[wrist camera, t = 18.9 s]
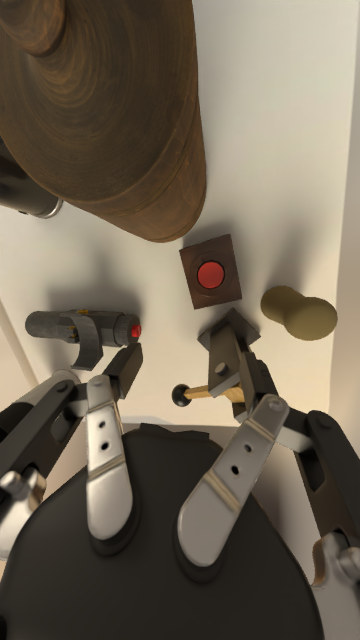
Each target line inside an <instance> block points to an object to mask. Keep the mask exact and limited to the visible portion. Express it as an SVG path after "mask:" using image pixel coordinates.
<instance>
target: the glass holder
mask: <svg viewBox="0 0 360 640" xmlns="http://www.w3.org/2000/svg"><path fill="white" fill-rule="evenodd" d="M66 379H71V380H73V381H74V383H75V385H76V384H81V383H80V381H79V379H78V378H77V377H76V376H75V375H74V374H73V373H71V372H69V371H66V370H58V371H56V372H55V373H54V374H53V375H52V377H50V378H49V379H47V380H46V381H44V382H43V383H41V384H40V385H38V386H37V387H35V388H34V389H32V390H31V391H30V392H28V393H27V394H25V395H24V396H22V397H21V398H19V399H18V400H16V401H15V402H13V403H12V404H11V405H10V406H9V407H8V408H6V409H5V410H3V411H2V412H0V443H1V442H2V441H3V440H4V439H5V438H6V437H7V436H8V435H9V433H10V432H11V431H12V430H13V429H14V428H15V427H16V426H17V425H18V424H19V423H20V421H21V420H22V419H23V418H24V417H25V416H26V415H27V414H28V413H29V412H30V411H31V410H32V408H33V407H34V406H35V405H36V404H37V403H38V402H39V401H40V400H41V399H42V398H43V396H44V395H45V394H46V393H47V392H48V391H49V390H50V389H51V388H52V387H53V386H54V385H55V384H56V383H58V382H60V381H62V380H66ZM52 425H53V424H52Z"/></svg>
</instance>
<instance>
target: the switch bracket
mask: <svg viewBox="0 0 360 640" xmlns="http://www.w3.org/2000/svg"><path fill="white" fill-rule="evenodd" d="M260 337H261V336H260V334H259V333H258V332H257V331H256V330H255V329H254V328H253V327H252V326H251V325H250V324H249V323H248V322H247V321H246V320H245V319H244V318H243V316H242V315H241V314H240V313H239V312H238V311H237V310H236V309H235V308H232V309H231V310H230V311H229V312H228V313H226V314H225V315H224V316H223V317H222V318H221V319H219V320H218V321H217V322H216V323H215V324H213V325H212V326H211V327H210V328H209V329H208V330H206V331H205V332H204V333H203V334H202V335H200V336H199V337H198V339H197V340H198V341H199V342H200V343H201V344H202V345H203V346H204V347H205V348H206V349H207V350H208V351H209V374H208V393H209V394H210V395H211V396H212V397H213V398H215V397H217V396H218V395H220V394H222V393H223V392H225V391H226V390H228V389H229V388H231V387H232V386H234V385H235V384H237V383H239V382H240V381H241V380H240V375H239V367H240V362H241V357H242V352H243V351H244V352H252V351H251V349H250V347H249V345H250V344H252V343H253V342H255V341H256V340H257V339H259V338H260ZM232 408H233V415H234V418H235V419H236V420H237V421H238V422H239V423H240V424H241V423H242V422H243V421H244V420H245V419H246V418H247V419H248V418H249V417H248V415H247V410H246V405H245V402H236V403H232Z"/></svg>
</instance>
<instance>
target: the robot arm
mask: <svg viewBox="0 0 360 640" xmlns="http://www.w3.org/2000/svg"><path fill="white" fill-rule="evenodd" d="M62 201H63V200H62V199H60V198H59V197H57V196H55V195H53V194H52V193H50V192H49V191H47V190H46V189H44V188H43V187H41V186H40V185H39V184H38V183H36V182H35V181H34V180H33V179H32V178H31V177H30V176H29V175H28V174H27V173H26V172H25V171H24V170H23V169H22V167H21V166H20V165H19V164H18V163H17V161H16V160H15V158H14V157H13V155H12V154H11V152H10V151H9V149H8V148H7V146H6V144H5V143H4V141H3V139H2V137H1V135H0V205H1V206H5V207H8V208H11V209H15V210H18V211H19V212H20V213H23V214H27V213H28V214H31V215H34V216H36V217H40V218H50V217H53V216H54V215H55V214H57V212H58V211H59V210H60V208H61V205H62ZM28 214H27V215H28ZM142 363H143V354H142V348H141V343H138V342H130V343H129V345H128V346H127V348H123V349H121V350H120V351H118V353H117V354H116V355H115V357H114V358H113V359H112V361H111V362H110V363H109V365H108V366H107V368H106V369H105V370H104V372H103V373H102V374H101V375H97V376H95V377H93V378H92V379H90V380H89V382H88V383H82V384H76V385H75V383H74V381H73V380H71V379H66V380H62V381H60V382H58V383H56V384H55V385H54V386H53V387H52V388H51V389H50V390H49V391H48V392H47V393H46V394H45V395H44V396H43V398H42V399H41V400H40V401H39V402H38V403H37V404H36V405H35V406H34V407H33V408H32V410H31V411H30V412H29V413H28V414H27V415H26V416H25V417H24V418H23V419H22V420H21V421H20V423H19V424H18V425H17V426H16V427H15V428H14V429H13V430H12V431H11V432H10V433H9V435H8V436H7V437H6V438H5V439H4V440H3V441H2V442H1V443H0V560H2V561H7V563H6V566H5V570H4V573H3V576H2V579H1V582H0V640H360V459H359V458H358V456H357V454H356V453H355V451H354V449H353V448H352V446H351V444H350V442H349V441H348V439H347V438H346V436H345V434H344V433H343V431H342V429H341V427H340V426H339V424H338V423H337V422H336V421H335V420H334V419H333V418H332V417H331V416H329V415H328V414H326V413H324V412H321V411H318V410H312V411H310V412H309V413H308V414H306V413H303V412H301V411H298V410H295V409H293V408H291V407H289V406H288V404H287V402H286V401H285V400H284V399H282V398H281V397H279V395H278V392H277V390H276V387H275V385H274V382H273V380H272V378H271V375H270V373H269V370H268V368H267V365H266V364H265V363H264V362H263V361H262V360H257V359H256V357H255V354H254V352H244V351H243V352H242V357H241V362H240V367H239V375H240V380H241V385H242V390H243V395H244V400H245V405H246V410H247V415H248V417H249V418H248V419H247V418H246V419H245V420H244V421H243V423H242V424H241V425H240V427H239V428H238V430H237V431H236V433H235V434H234V435H233V437H232V438H231V440H230V441H229V443H228V444H227V446H226V447H225V448H224V449H223V448H222V447H221V446H220V445H218V444H217V443H216V442H214V441H213V440H210V439H209V433H206V432H198V431H193V430H191V431H183V432H171V431H169V430H167V429H165V428H162V427H160V426H158V425H154V424H147V423H141V425H140V428H138V429H134V430H131V431H129V432H127V433H125V434H124V431H123V427H122V423H121V419H120V414H119V410H118V406H117V401H118V400H119V399H125V397H126V395H127V393H128V391H129V389H130V387H131V385H132V383H133V381H134V379H135V377H136V375H137V373H138V371H139V369H140V367H141V365H142ZM60 413H61V414H60ZM58 416H59V417H58ZM84 416H85V417H86V440H87V461H88V462H87V463H88V464H87V465H86V466H85V467H83V468H82V469H81V470H80V471H79V472H78V473H76V474H75V475H74V476H73V477H72V478H70V479H69V480H68V481H67V482H66V483H65V484H63V485H62V486H61V487H60V488H59V489H57V490H56V491H55V492H54V493H53V494H51V495H50V496H49V497H48V498H47V499H46V500H44V501H43V502H42V500H43V495H44V493H45V490H46V485H47V484H46V478H47V477H48V475H49V473H50V472H51V470H52V468H53V467H54V465H55V463H56V461H57V460H58V458H59V457H60V455H61V453H62V451H63V450H64V449H65V447H66V445H67V444H68V442H69V440H70V438H71V437H72V435H73V433H74V432H75V430H76V429H77V427H78V425H79V424H80V422H81V420H82V419H83V417H84ZM57 417H58V418H57ZM55 420H56V421H55ZM54 421H55V422H54ZM52 424H53V425H52ZM275 442H277V443H279V444H281V445H283V446H285V447H287V448H289V449H291V450H293V452H294V455H295V458H296V461H297V464H298V467H299V470H300V473H301V477H302V479H303V483H304V486H305V489H306V492H307V496H308V499H309V502H310V505H311V508H312V511H313V514H314V517H315V521H316V523H317V527H318V530H319V533H320V536H321V539H319V540H318V541H317V542H315V544H314V546H313V552H312V553H313V562H314V567H315V577H314V581H313V583H312V585H310V584H309V582H308V579H307V577H306V575H305V573H304V571H303V570H302V568H301V566H300V564H299V563H298V561H297V560H296V558H295V556H294V555H293V553H292V552H291V550H290V549H289V547H288V546H287V544H286V543H285V541H284V540H283V538H282V536H281V535H280V534H279V532H278V531H277V529H276V527H275V526H274V524H273V523H272V521H271V520H270V518H269V516H268V515H267V513H266V512H265V510H264V509H263V507H262V506H261V504H260V503H259V501H258V499H257V498H256V496H255V495H254V493H253V492H252V488H253V486H254V484H255V482H256V480H257V478H258V476H259V474H260V472H261V470H262V468H263V466H264V464H265V462H266V459H267V457H268V455H269V453H270V451H271V449H272V447H273V445H274V443H275Z"/></svg>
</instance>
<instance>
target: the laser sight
mask: <svg viewBox="0 0 360 640" xmlns="http://www.w3.org/2000/svg"><path fill="white" fill-rule="evenodd" d="M25 328H26V331H27V332H28V334H29V335H31V336H33V337H40V338H51V339H62V340H64V341H66V342H68V343H73V344H80V351H79V356H78V358H77V360H76V362H75V363H74V365H73V366H71V369H77V370H86V371H92V370H93V368H94V367H95V366H96V364H97V363H98V362H99V361H100V359H101V358H102V357H103V349H102V346H110V347H121V346H123V345H125V346H128V345H129V343H130V342H137V341H138V339H139V336H140V335H141V326H140V321H139V318H138V317H137V316H135V315H127V316H126V315H125V313H121V312H101V311H88V310H71V311H68V312H45V311H36V312H33V313H31V314H30V315H29V316H28V317H27V319H26V322H25Z"/></svg>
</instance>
